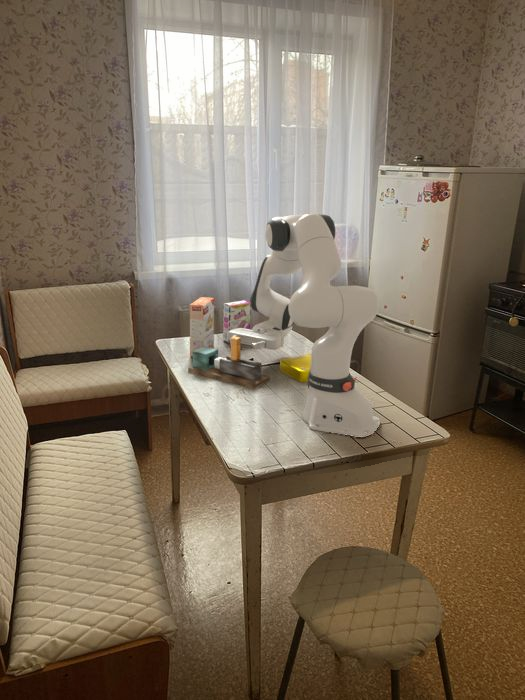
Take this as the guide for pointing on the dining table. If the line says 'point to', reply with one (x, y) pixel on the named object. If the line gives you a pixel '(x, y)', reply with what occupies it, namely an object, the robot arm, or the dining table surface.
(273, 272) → the robot arm
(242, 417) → the dining table surface
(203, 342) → the cracker box
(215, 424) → the dining table surface
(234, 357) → the post on white base
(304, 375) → the element tile
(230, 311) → the candy bar box
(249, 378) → the slide bolt latch board
